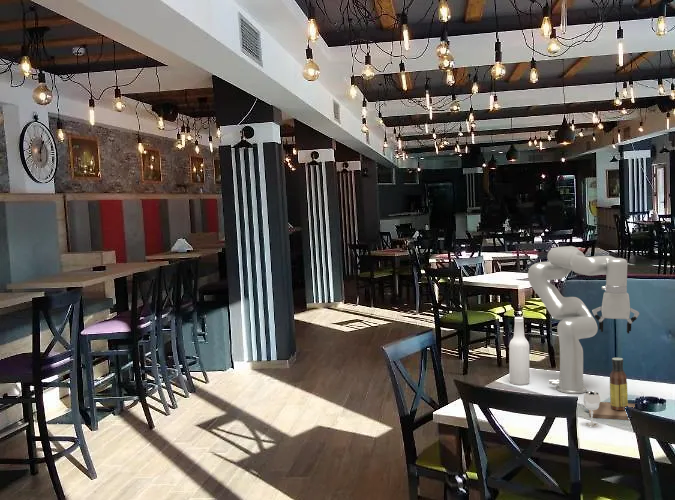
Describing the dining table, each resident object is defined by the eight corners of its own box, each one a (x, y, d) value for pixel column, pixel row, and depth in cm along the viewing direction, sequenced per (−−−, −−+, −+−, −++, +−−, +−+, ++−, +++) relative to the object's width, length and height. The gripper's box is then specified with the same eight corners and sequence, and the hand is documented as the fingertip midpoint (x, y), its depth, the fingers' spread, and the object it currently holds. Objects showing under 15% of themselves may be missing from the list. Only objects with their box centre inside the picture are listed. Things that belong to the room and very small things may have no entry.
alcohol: (509, 385, 299) (509, 319, 296) (509, 379, 307) (508, 315, 305) (530, 385, 297) (529, 319, 294) (528, 380, 305) (528, 315, 303)
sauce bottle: (627, 407, 260) (627, 357, 258) (628, 412, 254) (628, 360, 252) (609, 405, 262) (609, 356, 260) (610, 410, 256) (610, 360, 254)
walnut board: (590, 417, 253) (590, 413, 253) (587, 404, 269) (587, 401, 268) (647, 421, 248) (647, 417, 247) (641, 407, 263) (641, 404, 263)
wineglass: (580, 422, 248) (580, 391, 247) (595, 421, 249) (595, 390, 248) (587, 427, 243) (587, 395, 242) (603, 427, 243) (603, 394, 242)
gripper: (593, 290, 261) (591, 332, 263) (641, 292, 256) (639, 335, 258) (592, 287, 269) (591, 328, 270) (639, 288, 263) (637, 331, 265)
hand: (614, 332), depth 264 cm, fingers open, 9 cm apart
